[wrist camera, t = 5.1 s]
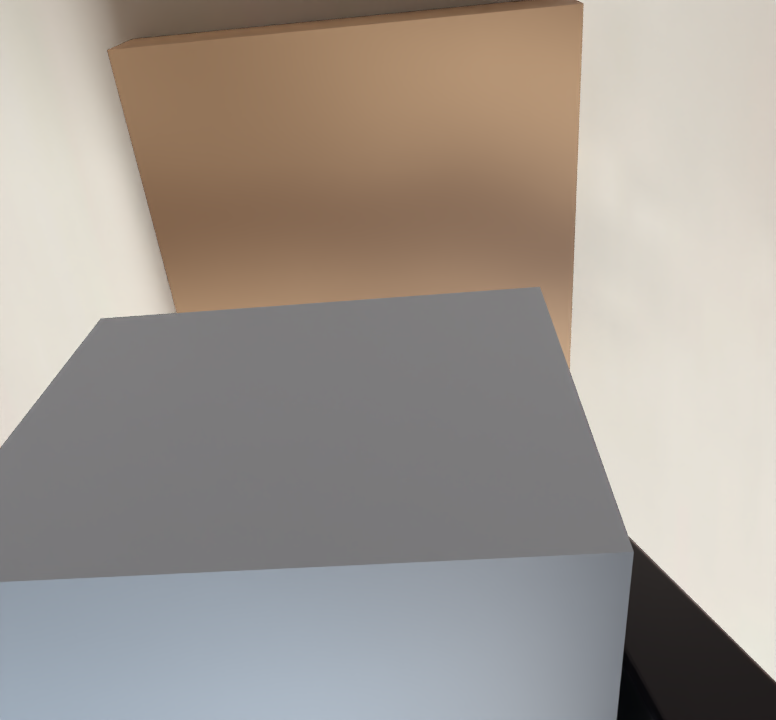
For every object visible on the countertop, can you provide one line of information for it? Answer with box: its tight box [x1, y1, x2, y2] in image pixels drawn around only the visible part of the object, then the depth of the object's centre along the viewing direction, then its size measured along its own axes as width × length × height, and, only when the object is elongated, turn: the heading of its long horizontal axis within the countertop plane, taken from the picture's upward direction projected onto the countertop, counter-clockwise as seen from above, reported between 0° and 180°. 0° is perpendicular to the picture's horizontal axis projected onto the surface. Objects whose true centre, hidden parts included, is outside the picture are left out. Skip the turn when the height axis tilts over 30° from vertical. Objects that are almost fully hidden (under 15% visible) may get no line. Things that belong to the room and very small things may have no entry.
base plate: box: [107, 0, 583, 370], centre depth 17 cm, size 9×9×2 cm
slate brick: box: [0, 287, 634, 720], centre depth 8 cm, size 5×5×4 cm
